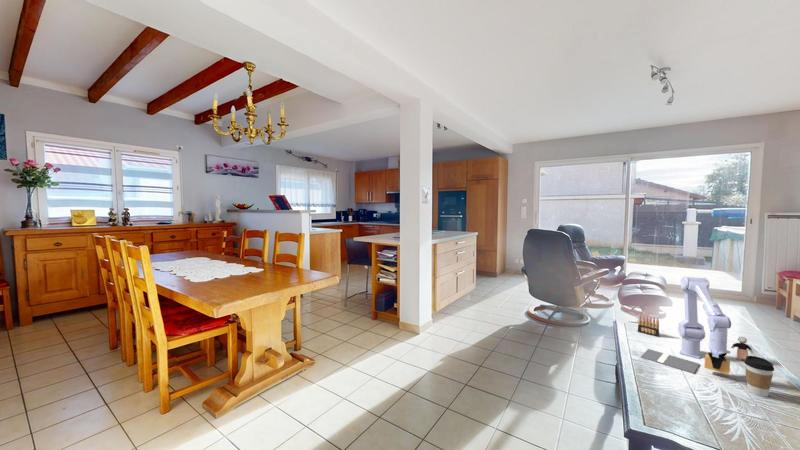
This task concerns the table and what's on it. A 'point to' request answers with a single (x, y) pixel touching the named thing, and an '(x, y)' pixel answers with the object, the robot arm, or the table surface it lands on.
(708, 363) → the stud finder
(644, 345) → the table surface
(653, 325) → the ammunition clip
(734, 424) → the table surface
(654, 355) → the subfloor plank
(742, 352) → the grandmother figurine
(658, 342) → the table surface
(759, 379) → the coffee cup
